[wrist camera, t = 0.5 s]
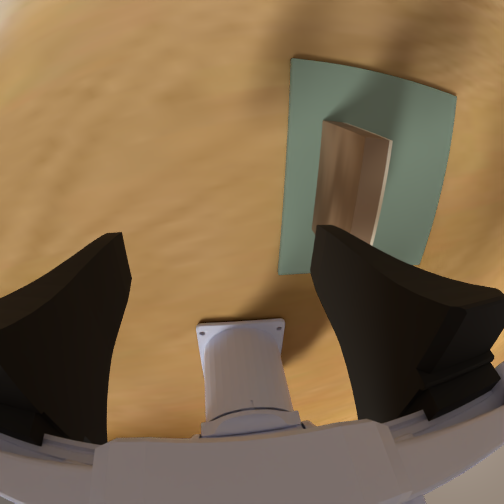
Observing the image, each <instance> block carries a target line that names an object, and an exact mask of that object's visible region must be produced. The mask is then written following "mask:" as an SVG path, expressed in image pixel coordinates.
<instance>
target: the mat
mask: <svg viewBox="0 0 504 504" xmlns="http://www.w3.org/2000/svg"><path fill="white" fill-rule="evenodd" d="M456 100H457V96H454V95H451V94H449V93H446V92H443V91H440V90H438V89H435V88H432V87H429V86H426V85H422V84H419V83H416V82H413V81H409V80H406V79H402V78H399V77H395V76H391V75H387V74H383V73H379V72H375V71H370V70H366V69H361V68H356V67H351V66H345V65H339V64H333V63H327V62H320V61H312V60H304V59H295V58H292V59H291V69H290V94H289V116H288V135H287V153H286V169H285V185H284V199H283V213H282V226H281V239H280V252H279V264H278V274H279V275H287V274H303V273H310V267H311V260H312V254H313V247H314V240H315V234H314V232H313V231H312V222H313V214H314V205H315V197H316V188H317V178H318V169H319V158H320V147H321V136H322V123H323V120H325V121H335V122H344V123H348V124H350V125H353V126H356V127H359V128H361V129H364V130H367V131H369V132H372V133H375V134H377V135H380V136H382V137H385V138H387V139H389V140H392V141H393V143H392V150H391V157H390V163H389V169H388V175H387V181H386V186H385V191H384V197H383V202H382V207H381V211H380V216H379V220H378V225H377V229H376V234H375V238H374V242H373V246H374V247H375V248H377V249H379V250H381V251H383V252H385V253H387V254H389V255H391V256H393V257H395V258H397V259H399V260H401V261H403V262H405V263H408V264H410V265H419V264H420V261H421V259H422V256H423V253H424V250H425V247H426V243H427V240H428V237H429V234H430V231H431V227H432V224H433V220H434V217H435V213H436V209H437V206H438V202H439V198H440V194H441V189H442V185H443V181H444V176H445V172H446V167H447V162H448V156H449V151H450V145H451V139H452V133H453V126H454V118H455V109H456Z"/></svg>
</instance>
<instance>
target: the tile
mask: <svg viewBox="0 0 504 504" xmlns="http://www.w3.org/2000/svg"><path fill="white" fill-rule="evenodd" d="M392 143H393V141H392V140H389V139H387V138H385V137H382V136H380V135H377V134H375V133H372V132H369V131H367V130H364V129H361V128H359V127H356V126H353V125H350V124H348V123H344V122H335V121H325V120H323V123H322V136H321V147H320V158H319V169H318V178H317V188H316V197H315V205H314V214H313V222H312V231H313V232H314V234H315V233H316V226H317V225H334V226H337V227H339V228H341V229H343V230H345V231H347V232H349V233H350V234H352V235H354V236H356V237H358V238H359V239H361V240H363V241H365V242H366V243H368V244H370V245H372V246H373V242H374V238H375V234H376V229H377V225H378V220H379V216H380V211H381V207H382V202H383V197H384V191H385V186H386V181H387V175H388V169H389V163H390V157H391V150H392Z"/></svg>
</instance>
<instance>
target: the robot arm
mask: <svg viewBox="0 0 504 504" xmlns="http://www.w3.org/2000/svg"><path fill="white" fill-rule="evenodd" d="M310 273H311V276H312V280H313V283H314V286H315V289H316V292H317V295H318V297H319V299H320V301H321V303H322V306H323V308H324V310H325V312H326V314H327V316H328V318H329V321H330V323H331V325H332V327H333V329H334V331H335V334H336V336H337V338H338V341H339V344H340V346H341V350H342V353H343V356H344V359H345V363H346V366H347V370H348V374H349V378H350V382H351V386H352V390H353V395H354V400H355V404H356V409H357V415H358V420H354V421H346V422H338V423H332V424H328V425H323V426H315V425H314V424H312V423H311V422H310V421H308V420H306V421H302V422H301V420H300V416H299V412H298V411H294V410H293V406H292V402H291V398H290V394H289V390H288V385H287V381H286V377H285V373H284V369H283V365H282V361H281V349H282V342H283V336H284V328H285V321H284V320H283V319H281V318H278V319H266V320H252V321H236V322H218V323H200V324H198V325H197V326H196V332H197V338H198V344H199V350H200V356H201V362H202V368H203V374H204V379H205V408H206V422H203V423H201V434H195V435H193V437H192V438H154V437H142V438H116V439H114V440H112V441H109V442H107V395H108V382H109V373H110V365H111V358H112V353H113V349H114V345H115V341H116V338H117V334H118V331H119V328H120V324H121V321H122V318H123V315H124V311H125V308H126V305H127V302H128V297H129V292H130V286H131V280H132V277H131V273H130V268H129V264H128V259H127V255H126V250H125V245H124V240H123V235H122V232H118V233H106V234H104V235H102V236H101V237H99V238H97V239H96V240H94V241H93V242H91V243H90V244H89V245H87V246H86V247H84V248H83V249H82V250H80V251H79V252H77V253H76V254H75V255H73V256H72V257H70V258H69V259H68V260H66V261H65V262H63V263H62V264H60V265H59V266H57V267H56V268H55V269H53V270H52V271H50V272H48V273H47V274H45V275H44V276H42V277H40V278H39V279H37V280H35V281H34V282H32V283H30V284H28V285H27V286H24V287H22V288H20V289H18V290H17V291H15V292H13V293H11V294H9V295H7V296H4V297H2V298H0V496H2V497H3V498H5V499H7V500H9V501H11V502H14V503H15V504H426V501H425V498H424V496H423V495H425V494H427V493H429V492H430V491H432V490H434V489H436V488H438V487H440V486H441V485H443V484H445V483H447V482H449V481H450V480H452V479H454V478H456V477H457V476H459V475H461V474H462V473H464V472H465V471H467V470H468V469H470V468H472V467H473V466H475V465H476V464H478V463H479V462H481V461H482V460H483V459H485V458H486V457H488V456H489V455H490V454H492V453H493V452H495V450H497V449H498V448H500V447H501V446H502V445H504V361H503V362H502V363H500V364H499V365H498V366H497V367H496V368H494V367H493V365H492V364H491V363H490V362H492V361H493V359H494V355H493V354H492V352H491V351H490V349H491V347H492V346H493V344H494V343H495V341H496V340H497V338H498V337H499V335H500V333H501V332H502V330H503V329H504V294H503V293H502V292H501V291H500V290H498V289H496V288H490V287H485V286H479V285H473V284H468V283H464V282H460V281H456V280H452V279H449V278H446V277H442V276H439V275H436V274H434V273H431V272H428V271H425V270H422V269H420V268H417V267H415V266H412V265H410V264H408V263H405V262H403V261H401V260H399V259H397V258H395V257H393V256H391V255H389V254H387V253H385V252H383V251H381V250H379V249H377V248H375V247H374V246H372V245H370V244H368V243H366V242H365V241H363V240H361V239H359V238H358V237H356V236H354V235H352V234H350V233H349V232H347V231H345V230H343V229H341V228H339V227H337V226H334V225H317V226H316V233H315V240H314V247H313V254H312V260H311V267H310ZM278 327H279V328H278Z"/></svg>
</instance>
